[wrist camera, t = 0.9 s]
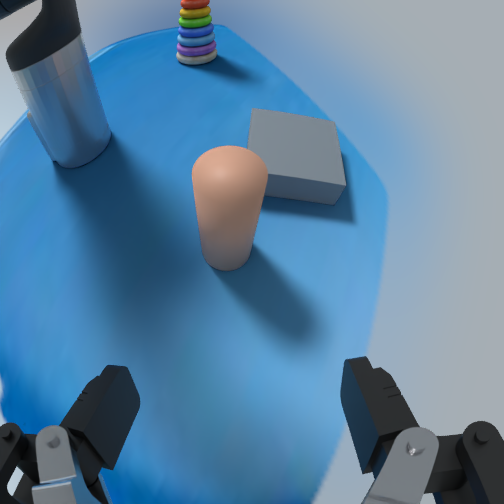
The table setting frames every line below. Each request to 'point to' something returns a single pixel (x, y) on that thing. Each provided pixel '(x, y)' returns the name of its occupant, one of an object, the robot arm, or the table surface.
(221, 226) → the terracotta peg
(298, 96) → the table surface
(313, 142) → the slate base block
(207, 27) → the stacking toy
